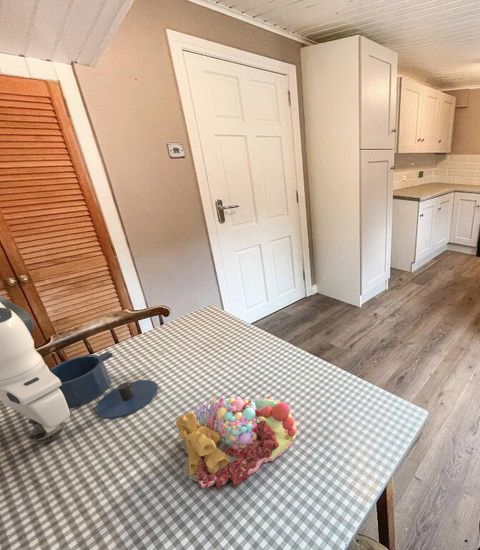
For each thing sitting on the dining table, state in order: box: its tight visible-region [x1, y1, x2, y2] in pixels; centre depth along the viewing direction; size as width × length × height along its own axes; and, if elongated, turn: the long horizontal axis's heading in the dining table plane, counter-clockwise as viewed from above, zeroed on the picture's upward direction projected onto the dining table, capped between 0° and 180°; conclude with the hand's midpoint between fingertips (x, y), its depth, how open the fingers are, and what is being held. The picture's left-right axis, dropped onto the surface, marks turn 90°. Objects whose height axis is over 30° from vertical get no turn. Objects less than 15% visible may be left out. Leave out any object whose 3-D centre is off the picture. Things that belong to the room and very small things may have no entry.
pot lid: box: [95, 379, 159, 420], centre depth 82 cm, size 14×14×5 cm
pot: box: [49, 351, 114, 410], centre depth 84 cm, size 13×18×8 cm
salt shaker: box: [28, 419, 65, 445], centre depth 70 cm, size 6×6×12 cm
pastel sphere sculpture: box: [175, 394, 298, 492], centre depth 71 cm, size 25×24×9 cm
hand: (45, 426), depth 70 cm, fingers closed on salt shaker, 3 cm apart
